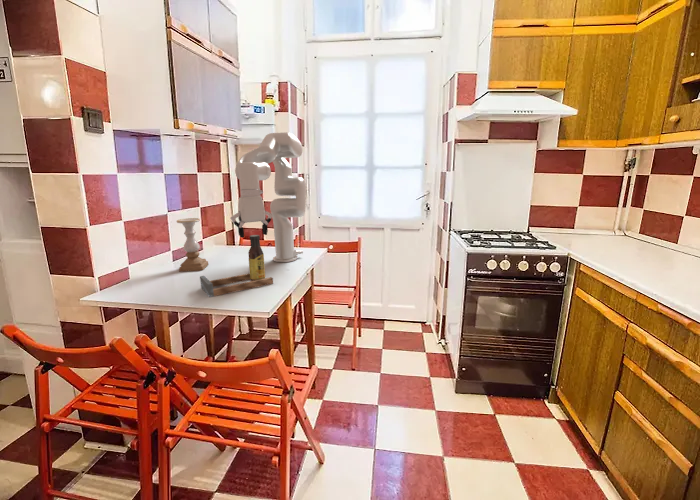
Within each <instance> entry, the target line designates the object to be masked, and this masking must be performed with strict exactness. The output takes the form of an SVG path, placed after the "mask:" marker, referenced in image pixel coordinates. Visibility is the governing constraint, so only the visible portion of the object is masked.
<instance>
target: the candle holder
mask: <svg viewBox="0 0 700 500" xmlns="http://www.w3.org/2000/svg"><path fill="white" fill-rule="evenodd" d="M198 222H200V218H199V217H198V218H197V217H193V218H192V217H190V218H189V217H188V218H181V219H177V220H176V223H177V224H182V226H183V227H184V229H185V230H184V233H183V234H184V235H185V237H186V240H185V242H184V244H183V246H182V247H183V250H184V251H185V252H186V253H185V256H186V259H184V261H183V262H181V264H180V266H179V267H178V269H179V272H181V273H182V272H200V271H204V270H205V269H206V268H207V267H208V266H209V261H208V260H207V259H206V258H203V257H200V252H199V250H200V249H201V246H200V243H199V242H198V240H196V238H195V236H196V231H195V230H194V229H195V228H194V226H195V225H196V224H195V223H198Z"/></svg>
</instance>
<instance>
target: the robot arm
mask: <svg viewBox="0 0 700 500" xmlns="http://www.w3.org/2000/svg"><path fill="white" fill-rule="evenodd" d="M302 155H303V145H302V142H301V141H300V140H299V138H297V137H296V136H295V135H294V134H293V133H290V132H271V133H270V132H269V133H267V134H266V135H265V136H264V138H263V139H262V141H261V143H260V144H259V146H258V147H257V148H254V149H253V150H251V151H247V153H245V154H243V155H242V156H241V157H239V160H238V161H237V162H236V164H235V169H234V172H235V173H234V174H235V177H236V178H237V179H238V180H239V189H240V197H238V202H237V203H238V204H237V213H235V214H233V215H232V216H230V220H231V223H233V225H235V226H236V227H237V230H238V236H239V237H240V238H241V239H242V238H243V239H244V238H245V231H244V227H243V226H244V225H245V223H256V222H257V223H258V222H261V223H262V225H261V230H262V235H265V236H268V230H269V229H268V225H269V223H270V222H271V220H272V222H273V235H274V237H273V238H274V246H275V247H274V249H275V256H274V257H273V258H272V260H273V261H274V262H277V263H288V262H293V261H297V260H298V255H301V254H302V255H303V253H304V251H303V249H300V250H299V249H295V242H294V228H293V223H292V222H291V220H290V219H289V218H303V216H305V214H306V207H307V205H306V204H307V203H306V202H307V201H306V200H307V186H306V185H307V184H306V180H305V179H304V178H303V177H300V176H293V168H292V166H291V164H290V163H289V162H288V161H287V159H294V158H295V159H296V158H300V157H301V156H302ZM270 163H273V165H274V187H273V188H274V193H275V195H277V196H279V197H283V198H274V199H273V200H271V202H270V212H269V211H266V210H265V204H264V200H263V197H262V196H261V195H262V194H264V189H261V187H260V181H266V180H268V179H269V178H270V176H271V175H272V170H271V167H270V165H269V164H270ZM284 197H285V198H284ZM289 197H290V198H289ZM292 197H294V198H292ZM266 216H267V218H266ZM236 219H238V221H237V220H236Z"/></svg>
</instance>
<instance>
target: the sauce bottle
mask: <svg viewBox="0 0 700 500" xmlns="http://www.w3.org/2000/svg"><path fill="white" fill-rule="evenodd" d="M260 238H261V237H260V235H259V234H253V235H252V234H251V235H249V241H250V248H249V249H248V253H247V254H248V268H249V273H250V279H251V280H250V281H255V280H260V279H265V278H266V271H265V270H266V269H265V267H266V266H265V255H264V251H263V249H262V246H261V241H260Z"/></svg>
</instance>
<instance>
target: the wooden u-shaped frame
mask: <svg viewBox="0 0 700 500" xmlns="http://www.w3.org/2000/svg"><path fill="white" fill-rule="evenodd" d="M199 281H200V289H202V291H203V292H204V293H205V294H206V295H207V296H208V297H209V298H211V297H216V296H217V297H218V296H222V295H226V294H231V293H235V292H241V291H244V290H249V289H254V288H258V287H259V288H260V287H264V286H268V285H273V284H274V278H273V277H272V276H270V277H265V279H260V280H255V281H251V279H250V272H249V273H244V274H239V275H232V276H229V277H223V278H217V279H213V280H209V279H208V278H207V277H206V276H205V275H201V276H200V275H199ZM239 282H241V283H239ZM235 283H236V284H235ZM229 284H230V285H229Z"/></svg>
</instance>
